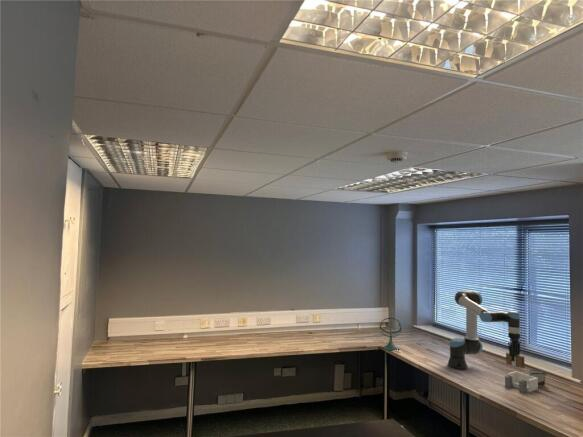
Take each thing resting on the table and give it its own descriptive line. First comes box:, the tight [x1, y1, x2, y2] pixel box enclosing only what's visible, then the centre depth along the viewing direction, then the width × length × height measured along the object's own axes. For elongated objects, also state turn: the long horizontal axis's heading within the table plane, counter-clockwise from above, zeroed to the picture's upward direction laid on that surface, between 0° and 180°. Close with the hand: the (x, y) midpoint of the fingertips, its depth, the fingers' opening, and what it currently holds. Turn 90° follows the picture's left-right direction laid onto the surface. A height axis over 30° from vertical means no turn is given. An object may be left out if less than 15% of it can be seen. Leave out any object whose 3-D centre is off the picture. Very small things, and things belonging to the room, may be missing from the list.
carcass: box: [504, 370, 539, 393], centre depth 273 cm, size 16×17×8 cm
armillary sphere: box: [379, 312, 403, 352], centre depth 367 cm, size 22×26×35 cm
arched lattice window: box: [528, 369, 547, 387], centre depth 280 cm, size 12×6×10 cm, turn 92°
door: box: [505, 352, 526, 369], centre depth 271 cm, size 12×2×8 cm, turn 30°
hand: (514, 365), depth 271 cm, fingers closed on door, 2 cm apart
